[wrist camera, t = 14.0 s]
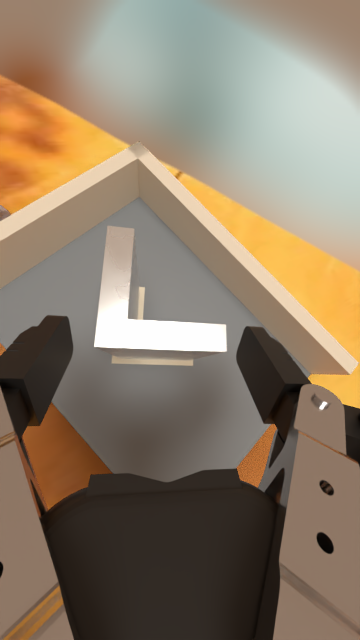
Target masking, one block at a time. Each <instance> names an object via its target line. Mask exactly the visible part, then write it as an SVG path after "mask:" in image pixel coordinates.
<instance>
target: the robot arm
mask: <svg viewBox="0 0 360 640" xmlns="http://www.w3.org/2000/svg"><path fill="white" fill-rule="evenodd" d="M72 355H73V340H72V334H71V328H70V322H69V318H68V317H67V316H56V315H47V316H46V317H45V318H44V319H43V320H42V321H41V323H40V324H39V325H38V326H32V327H30V328H29V329H27V330H25V331H23V332H22V333H20V334H19V336H18V337H17V338H16V339H15V340H14V341H13V344H11V345H10V346H9V347H8V348H7V349H6V351H5V352H4V353H3V354H2V355H1V356H0V640H360V409H359V408H355V407H351V406H348V405H344V404H342V402H341V401H340V400H339V399H338V398H337V396H335V395H334V394H333V393H332V392H330V391H329V390H327V389H325V388H323V387H321V386H318V385H314V384H312V383H311V382H310V381H309V380H308V378H307V377H306V376H305V374H304V373H303V372H302V370H301V369H300V368H299V366H298V365H297V364H296V362H295V361H293V359H292V357H291V356H290V355H289V354H288V352H287V351H286V349H285V348H284V347H283V345H282V344H280V343H279V342H278V341H277V340H275V339H274V338H271V337H270V336H269V334H268V333H267V332H266V330H265V329H264V328H263V327H255V326H246V327H245V328H244V331H243V334H242V337H241V340H240V343H239V346H238V349H237V353H236V361H237V364H238V367H239V369H240V371H241V373H242V376H243V378H244V380H245V382H246V385H247V387H248V389H249V392H250V394H251V396H252V398H253V401H254V403H255V405H256V407H257V410H258V412H259V414H260V417H261V419H262V421H263V423H264V424H275V425H276V427H277V430H276V431H275V434H274V437H273V441H272V445H271V449H270V452H269V456H268V460H267V464H266V468H265V471H264V474H263V477H262V480H261V482H260V484H259V486H258V488H257V487H255V486H253V485H251V484H249V483H246V482H244V481H241V480H240V478H239V475H238V471H237V468H236V469H213V470H202V471H199V472H196V473H193V474H191V475H188V476H185V477H182V478H180V479H177V480H174V481H171V482H162V481H158V480H154V479H150V478H147V477H143V476H139V475H135V474H131V473H118V474H95V475H91V476H90V480H89V485H88V487H87V488H84V489H81V490H79V491H77V492H75V493H73V494H71V495H69V496H68V497H66V498H64V499H63V500H61V501H60V502H58V503H57V504H56V505H54V506H53V507H52V508H50V509H49V510H48V508H47V505H46V503H45V500H44V497H43V495H42V492H41V490H40V487H39V484H38V481H37V478H36V475H35V472H34V469H33V467H32V464H31V461H30V458H29V455H28V452H27V449H26V446H25V443H24V440H23V437H22V435H23V433H24V431H25V429H26V427H27V426H40V424H41V422H42V420H43V418H44V416H45V414H46V412H47V410H48V407H49V405H50V403H51V401H52V399H53V397H54V395H55V392H56V390H57V388H58V386H59V384H60V382H61V380H62V378H63V375H64V373H65V371H66V369H67V367H68V365H69V363H70V361H71V358H72Z"/></svg>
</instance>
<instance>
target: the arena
mask: <svg viewBox="0 0 360 640" xmlns="http://www.w3.org/2000/svg"><path fill="white" fill-rule="evenodd" d="M107 226H115V227H124V228H133V229H134V231H135V243H136V255H137V268H138V280H139V292H140V296H139V310H138V320H151V321H170V322H188V323H206V324H225V325H226V347H227V352H223V353H219V354H215V355H211V356H206V357H202V358H198V359H194V360H190V361H178V360H145V359H119V358H117V357H115V356H113V355H111V354H109V353H106V352H104V351H102V350H100V349H98V348H96V347H94V344H95V335H96V326H97V317H98V307H99V298H100V289H101V280H102V271H103V262H104V253H105V244H106V235H107ZM47 315H56V316H67V317H68V318H69V322H70V328H71V334H72V340H73V355H72V358H71V361H70V363H69V365H68V367H67V369H66V371H65V373H64V375H63V378H62V380H61V382H60V384H59V386H58V388H57V390H56V392H55V395H54V397H53V399H52V401H51V402H52V403H53V404H54V405H55V407H56V408H57V409H58V410H59V411H60V412H61V414H62V415H63V416H64V417H65V418H66V419H67V421H68V422H69V423H70V424H71V425H72V426H73V428H74V429H75V430H76V431H77V432H78V433H79V435H80V436H81V437H82V438H83V439H84V440H85V442H86V443H87V444H88V445H89V446H90V447H91V448H92V450H93V451H94V452H95V453H96V454H97V455H98V457H99V458H100V459H101V460H102V461H103V462H104V464H105V465H106V466H107V467H108V468H109V469H110V471H111V472H112V473H113V474H118V473H131V474H135V475H139V476H143V477H147V478H150V479H154V480H158V481H162V482H171V481H174V480H177V479H180V478H182V477H185V476H188V475H191V474H193V473H196V472H199V471H202V470H213V469H236V467H237V466H238V465H239V464H240V462H241V461H242V460H243V459H244V457H245V456H246V455H247V454H248V452H249V451H250V450H251V449H252V447H253V446H254V445H255V444H256V442H257V441H258V440H259V438H260V437H261V436H262V435H263V433H264V432H265V431H266V430H267V428H268V427H269V426H270V425H271V424H264V423H263V421H262V419H261V417H260V414H259V412H258V410H257V407H256V405H255V403H254V401H253V398H252V396H251V394H250V392H249V389H248V387H247V385H246V382H245V380H244V378H243V376H242V373H241V371H240V369H239V367H238V364H237V361H236V353H237V349H238V346H239V343H240V340H241V337H242V334H243V331H244V328H245V327H246V326H255V327H263V328H264V329H265V330H266V332H267V333H268V334H269V336H270V337H271V338H274V339H275V340H277V341H278V342H279V343H280V344H282V345H283V347H284V348H285V349H286V351H287V352H288V354H289V355H290V356H291V357H292V359H293V361H295V362H296V364H297V365H298V366H299V368H300V369H301V370H302V372H303V373H304V374H305V376H306V377H307V378H308V377H309V375H310V374H339V375H351V373H352V372H353V370H354V369H355V368H356V366H357V365H358V364H359V363H358V362H357V361H356V360H355V359H354V358H353V357H352V356H351V355H350V354H349V353H348V352H347V351H346V350H345V349H344V348H343V347H342V346H341V345H340V344H339V343H338V341H337V340H336V339H335V338H334V337H333V336H332V335H331V334H330V333H329V332H328V331H327V330H326V329H325V328H324V327H323V326H322V325H321V324H320V323H319V322H318V321H317V320H316V319H315V318H314V317H313V316H312V315H311V314H310V313H309V312H308V311H307V310H306V309H305V308H304V307H303V306H302V305H301V304H300V303H299V302H298V301H297V300H296V299H295V298H294V297H293V296H292V295H291V294H290V293H289V292H288V291H287V290H286V289H285V288H284V287H283V286H282V285H281V284H280V283H279V282H278V281H277V280H276V279H275V278H274V277H273V276H272V275H271V274H270V273H269V272H268V271H267V270H266V269H265V268H264V267H263V266H262V265H261V264H260V263H259V262H258V261H257V260H256V259H255V258H254V257H253V256H252V255H251V254H250V253H249V252H248V251H247V249H246V248H245V247H244V246H243V245H242V244H241V243H240V242H239V241H238V240H237V239H236V238H235V237H234V236H233V235H232V234H231V233H230V232H229V231H228V230H227V229H226V228H225V227H224V226H223V225H222V224H221V223H220V222H219V221H218V220H217V219H216V218H215V217H214V216H213V215H212V214H211V213H210V212H209V211H208V210H207V209H206V208H205V207H204V206H203V205H202V204H201V203H200V202H199V201H198V200H197V199H196V198H195V197H194V196H193V195H192V194H191V193H190V192H189V191H188V190H187V189H186V188H185V187H184V186H183V185H182V184H181V183H180V182H179V181H178V180H177V179H176V178H175V177H174V176H173V175H172V174H171V173H170V172H169V171H168V170H167V169H166V168H165V167H164V166H163V165H162V164H161V163H160V162H159V161H158V160H157V159H156V158H155V156H153V154H152V153H150V151H148V149H147V148H146V147H145V146H144V145H143V144H142V143H141V142H140V141H138V142H137V143H135V144H133V145H131V146H130V147H128V148H126V149H125V150H123V151H121V152H119V153H118V154H116V155H114V156H112V157H111V158H109V159H107V160H106V161H104V162H102V163H100V164H99V165H97V166H95V167H93V168H92V169H90V170H88V171H87V172H85V173H83V174H81V175H80V176H78V177H76V178H74V179H73V180H71V181H69V182H67V183H66V184H64V185H62V186H61V187H59V188H57V189H55V190H54V191H52V192H50V193H48V194H47V195H45V196H43V197H42V198H40V199H38V200H36V201H35V202H33V203H31V204H29V205H28V206H26V207H24V208H22V209H21V210H19V211H17V212H16V213H14V214H12V215H10V216H9V217H7V218H5V219H3V220H2V221H0V343H1V344H2V345H3V346H4V347H5V349H7V348H8V347H9V346H10V345H11V344H13V341H14V340H15V339H16V338H17V337H18V336H19V334H20V333H22V332H23V331H25V330H27V329H29V328H30V327H32V326H38V325H39V324H40V323H41V321H42V320H43V319H44V318H45V317H46V316H47Z"/></svg>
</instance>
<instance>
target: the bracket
mask: <svg viewBox="0 0 360 640" xmlns="http://www.w3.org/2000/svg"><path fill="white" fill-rule="evenodd" d="M139 296H140V292H139V280H138V268H137V255H136V243H135V231H134V229H133V228H124V227H115V226H107V235H106V244H105V253H104V262H103V271H102V280H101V289H100V298H99V307H98V317H97V326H96V335H95V344H94V347H96V348H98V349H100V350H102V351H104V352H106V353H109V354H111V355H113V356H115V357H117V358H119V359H145V360H178V361H190V360H194V359H198V358H202V357H206V356H211V355H215V354H219V353H223V352H227V347H226V325H225V324H206V323H188V322H170V321H151V320H138V310H139Z"/></svg>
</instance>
